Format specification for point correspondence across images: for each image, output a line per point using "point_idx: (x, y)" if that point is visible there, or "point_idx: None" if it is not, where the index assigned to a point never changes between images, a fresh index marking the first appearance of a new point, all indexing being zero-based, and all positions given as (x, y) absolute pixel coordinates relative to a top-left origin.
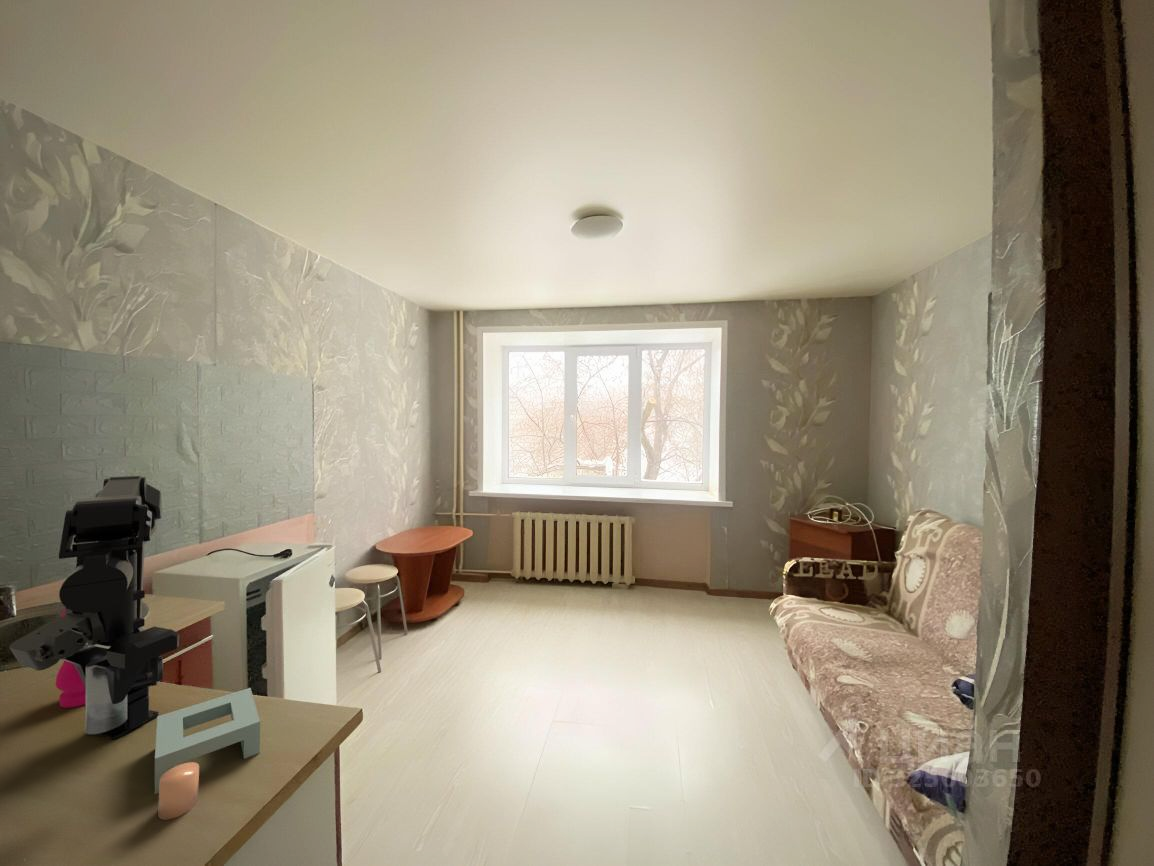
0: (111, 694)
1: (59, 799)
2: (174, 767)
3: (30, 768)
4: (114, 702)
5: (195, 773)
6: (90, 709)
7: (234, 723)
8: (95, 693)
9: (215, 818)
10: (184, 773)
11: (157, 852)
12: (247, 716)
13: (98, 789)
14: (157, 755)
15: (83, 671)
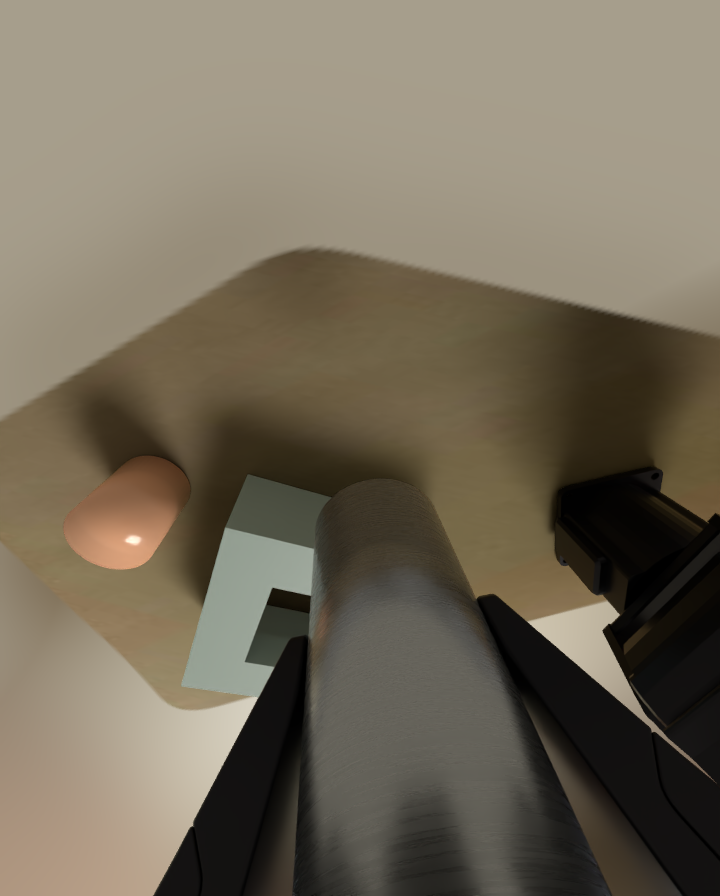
0: (281, 699)
1: (430, 361)
2: (152, 538)
3: (640, 358)
4: (284, 648)
5: (81, 554)
6: (357, 566)
7: (226, 658)
8: (340, 678)
9: (47, 510)
10: (98, 543)
11: (21, 420)
12: (232, 679)
13: (385, 418)
14: (236, 534)
15: (651, 846)
